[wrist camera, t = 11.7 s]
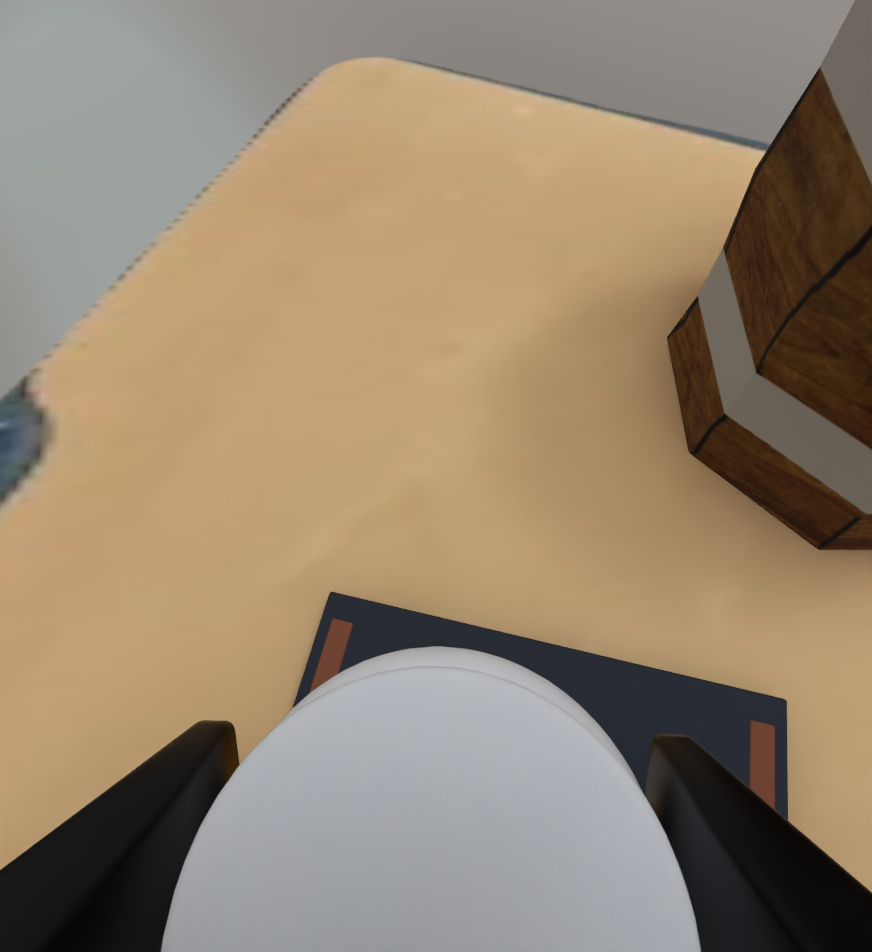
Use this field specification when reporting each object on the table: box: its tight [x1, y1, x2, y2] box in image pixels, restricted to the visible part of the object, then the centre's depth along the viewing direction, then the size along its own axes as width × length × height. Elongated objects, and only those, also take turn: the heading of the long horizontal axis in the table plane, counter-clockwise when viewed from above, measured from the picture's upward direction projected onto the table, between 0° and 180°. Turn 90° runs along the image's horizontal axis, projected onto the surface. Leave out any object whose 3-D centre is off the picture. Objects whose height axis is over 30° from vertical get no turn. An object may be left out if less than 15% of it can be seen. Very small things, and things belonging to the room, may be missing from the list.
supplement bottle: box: [161, 646, 701, 952], centre depth 9 cm, size 5×5×10 cm
